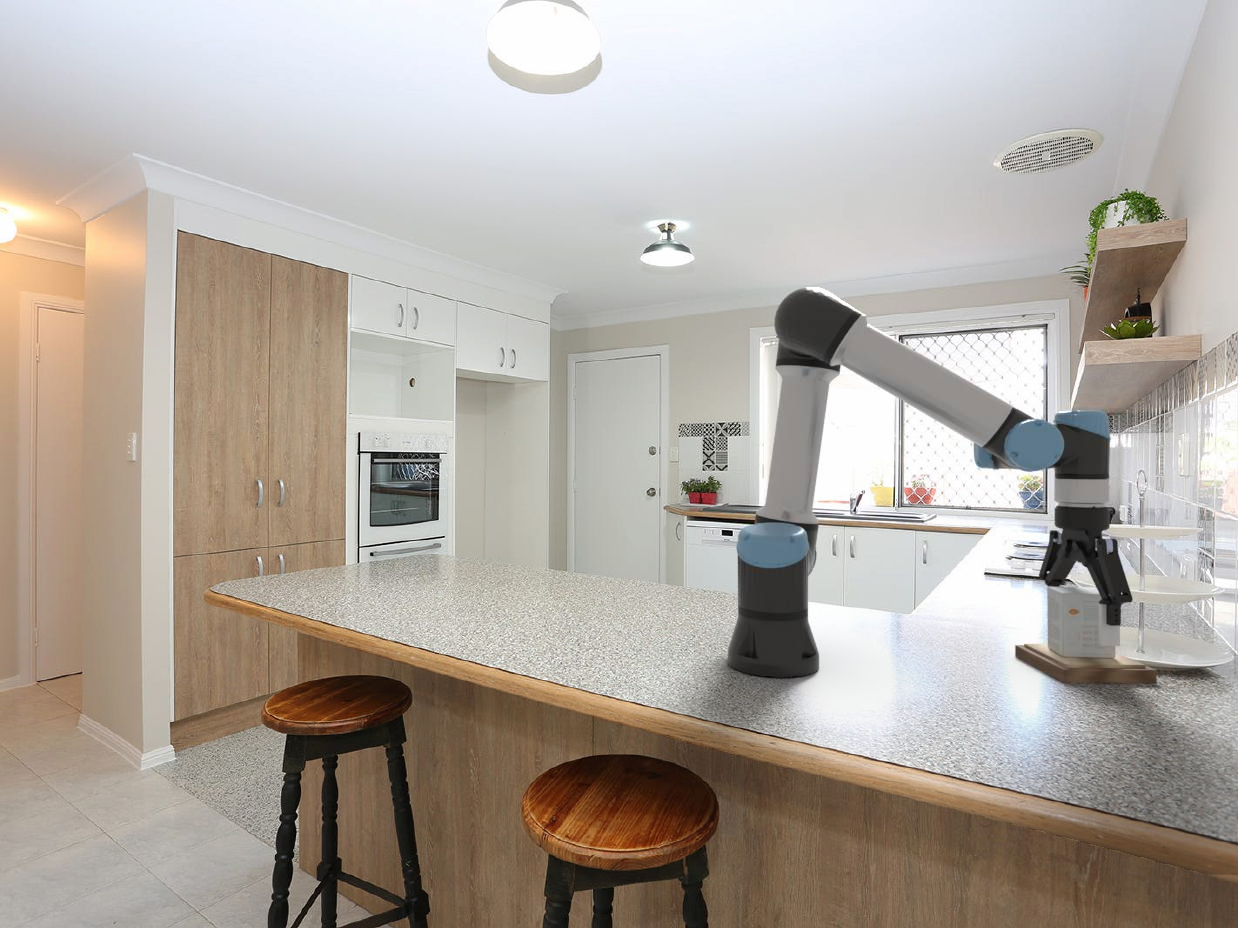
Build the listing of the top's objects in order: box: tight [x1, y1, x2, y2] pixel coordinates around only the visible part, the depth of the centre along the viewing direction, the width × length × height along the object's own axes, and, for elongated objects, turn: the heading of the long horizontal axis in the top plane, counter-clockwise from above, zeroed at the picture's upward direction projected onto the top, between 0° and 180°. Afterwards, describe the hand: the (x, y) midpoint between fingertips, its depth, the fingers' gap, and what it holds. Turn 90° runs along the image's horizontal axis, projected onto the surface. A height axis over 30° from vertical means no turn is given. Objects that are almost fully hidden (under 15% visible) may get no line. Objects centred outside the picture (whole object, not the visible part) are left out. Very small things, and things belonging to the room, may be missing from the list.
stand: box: [1014, 643, 1158, 684], centre depth 114 cm, size 14×14×2 cm
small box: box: [1046, 586, 1116, 658], centre depth 114 cm, size 8×6×10 cm
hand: (1081, 634), depth 114 cm, fingers open, 13 cm apart
